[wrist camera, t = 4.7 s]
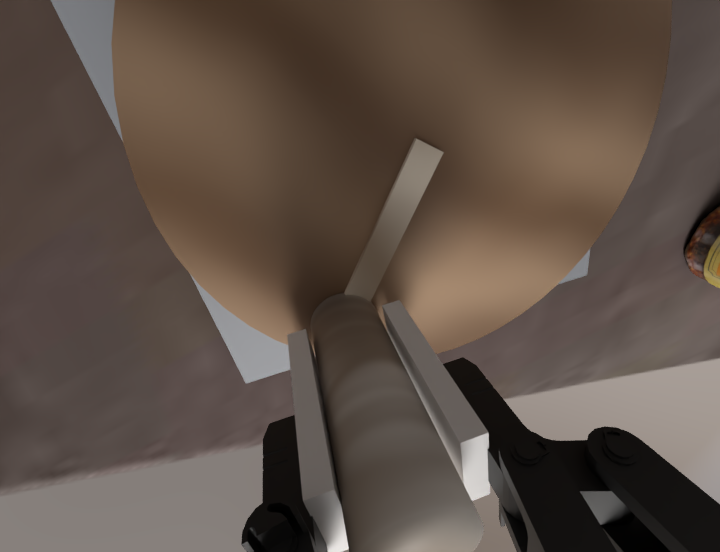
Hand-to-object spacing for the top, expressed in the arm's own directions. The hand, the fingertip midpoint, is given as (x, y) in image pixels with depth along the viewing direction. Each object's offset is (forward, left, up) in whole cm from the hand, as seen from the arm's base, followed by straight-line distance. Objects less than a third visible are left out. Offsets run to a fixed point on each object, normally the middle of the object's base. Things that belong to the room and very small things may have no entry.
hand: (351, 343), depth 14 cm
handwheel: (-7, +5, -4) cm, 9 cm away
